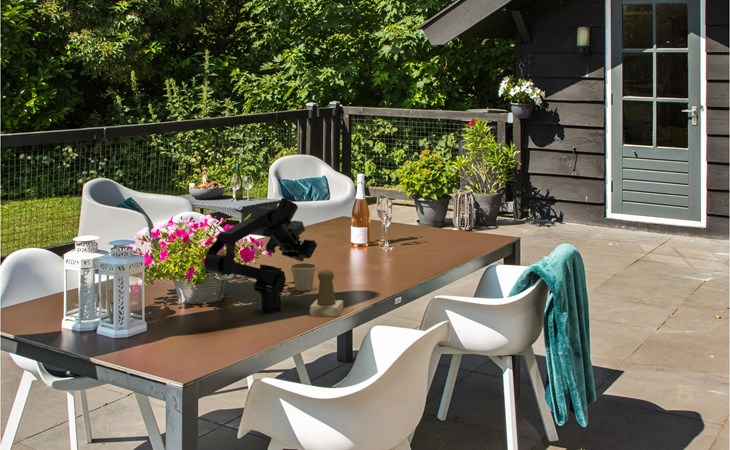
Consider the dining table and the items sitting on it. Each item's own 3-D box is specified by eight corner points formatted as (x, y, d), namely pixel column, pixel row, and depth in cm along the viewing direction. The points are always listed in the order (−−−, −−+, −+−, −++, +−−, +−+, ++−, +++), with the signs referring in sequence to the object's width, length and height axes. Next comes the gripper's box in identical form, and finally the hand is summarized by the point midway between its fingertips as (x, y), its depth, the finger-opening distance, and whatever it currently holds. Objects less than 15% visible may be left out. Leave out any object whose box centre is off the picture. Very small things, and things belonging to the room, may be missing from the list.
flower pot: (316, 292, 337) (315, 268, 336) (289, 292, 338) (288, 268, 336) (317, 286, 347) (317, 262, 345) (291, 286, 347) (291, 263, 345)
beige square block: (310, 315, 308) (310, 306, 308) (316, 308, 317) (316, 299, 316) (337, 316, 307) (337, 307, 306) (343, 309, 315) (343, 300, 315)
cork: (331, 300, 315) (331, 267, 313) (338, 304, 310) (337, 271, 308) (314, 302, 313) (313, 269, 311) (320, 306, 307) (320, 273, 305)
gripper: (313, 216, 314) (334, 244, 325) (270, 211, 325) (292, 238, 336) (298, 244, 309) (320, 271, 320) (255, 238, 320) (277, 264, 331)
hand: (302, 260), depth 327 cm, fingers closed
